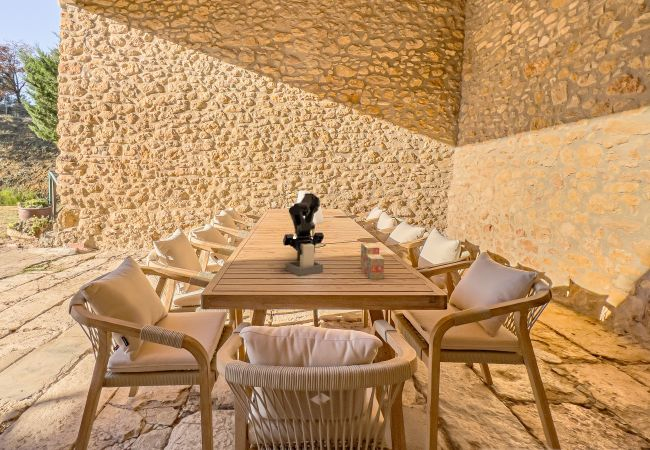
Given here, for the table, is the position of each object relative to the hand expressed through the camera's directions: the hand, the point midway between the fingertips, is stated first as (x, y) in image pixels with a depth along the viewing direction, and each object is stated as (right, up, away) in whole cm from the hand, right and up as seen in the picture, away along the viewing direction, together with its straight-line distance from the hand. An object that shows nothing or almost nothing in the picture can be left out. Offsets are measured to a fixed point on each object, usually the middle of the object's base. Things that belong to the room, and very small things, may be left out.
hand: (307, 254), depth 171 cm
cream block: (-1, -8, +2) cm, 8 cm away
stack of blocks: (+30, -9, +4) cm, 31 cm away
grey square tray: (-2, -8, +4) cm, 9 cm away
